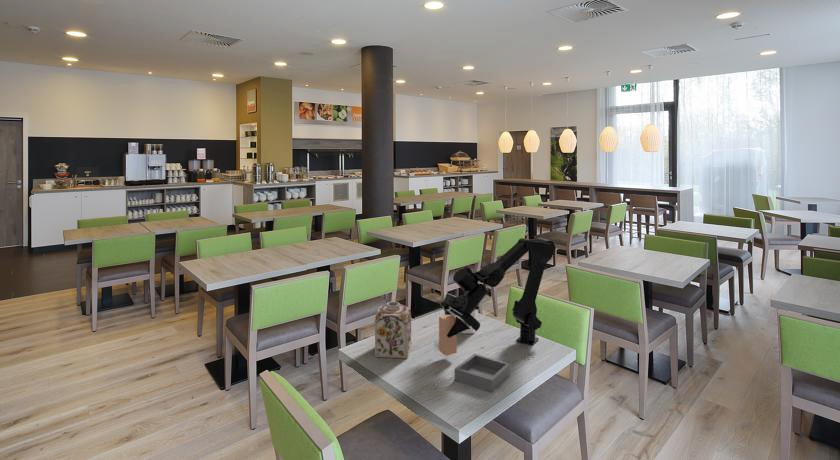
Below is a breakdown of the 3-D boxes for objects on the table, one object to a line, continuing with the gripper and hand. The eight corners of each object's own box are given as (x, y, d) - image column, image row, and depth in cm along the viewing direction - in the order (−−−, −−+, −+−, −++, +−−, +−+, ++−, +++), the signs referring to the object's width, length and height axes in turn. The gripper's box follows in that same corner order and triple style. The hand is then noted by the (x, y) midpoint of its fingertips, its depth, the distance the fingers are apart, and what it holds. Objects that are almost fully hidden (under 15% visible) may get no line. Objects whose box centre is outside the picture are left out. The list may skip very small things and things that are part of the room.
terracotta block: (450, 347, 163) (450, 314, 160) (456, 352, 159) (457, 318, 156) (439, 350, 161) (439, 316, 158) (445, 355, 157) (445, 320, 154)
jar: (451, 328, 186) (451, 300, 184) (466, 324, 191) (467, 296, 189) (466, 336, 179) (466, 306, 177) (481, 331, 184) (482, 302, 182)
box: (474, 364, 156) (474, 353, 155) (509, 374, 149) (510, 363, 148) (454, 379, 145) (454, 368, 145) (492, 392, 138) (492, 380, 138)
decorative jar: (380, 343, 172) (380, 297, 169) (411, 345, 171) (411, 298, 168) (374, 358, 161) (373, 308, 157) (407, 359, 159) (407, 309, 156)
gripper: (445, 278, 165) (417, 312, 163) (472, 292, 149) (442, 331, 146) (463, 296, 170) (437, 329, 167) (492, 312, 154) (463, 349, 151)
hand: (444, 334), depth 158 cm, fingers closed on terracotta block, 4 cm apart
